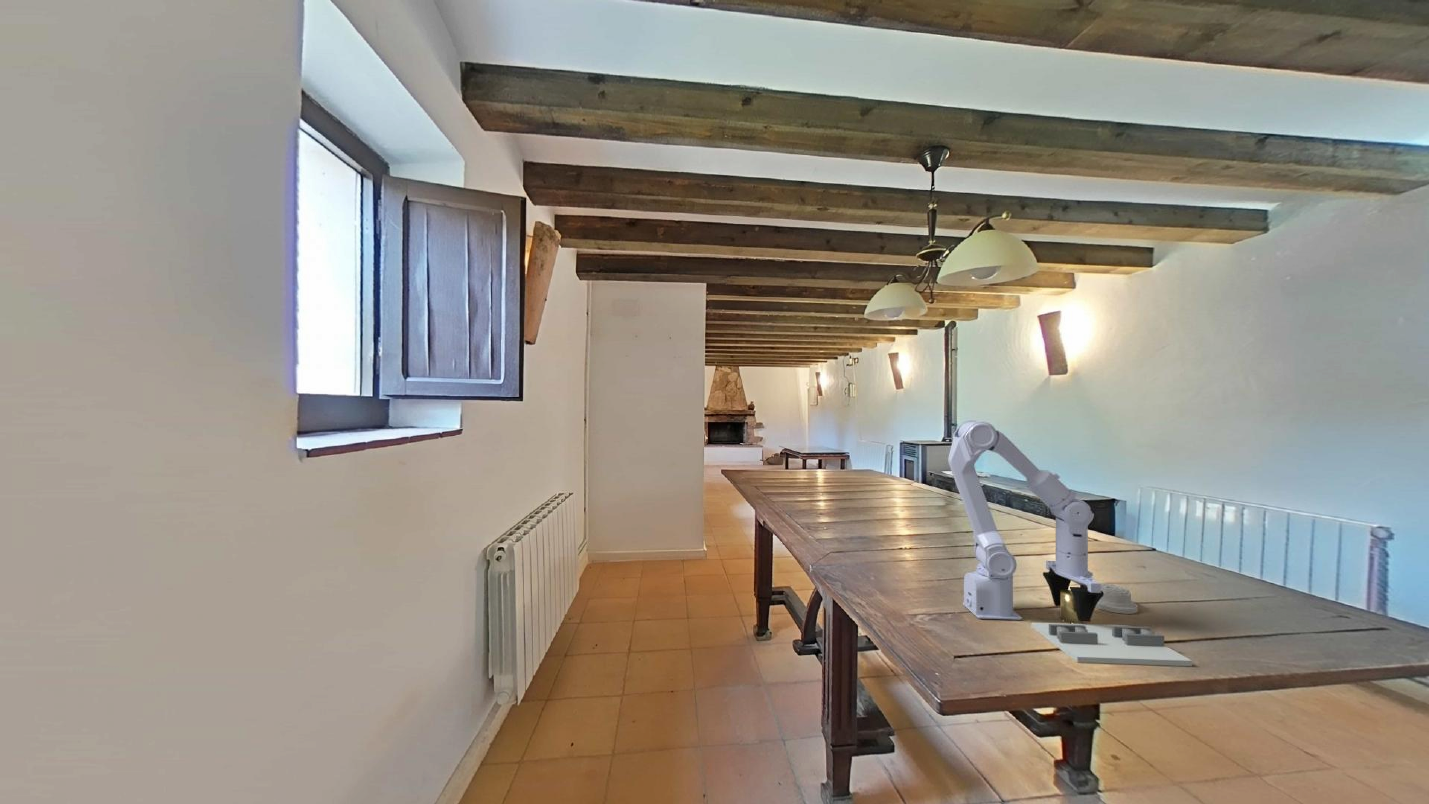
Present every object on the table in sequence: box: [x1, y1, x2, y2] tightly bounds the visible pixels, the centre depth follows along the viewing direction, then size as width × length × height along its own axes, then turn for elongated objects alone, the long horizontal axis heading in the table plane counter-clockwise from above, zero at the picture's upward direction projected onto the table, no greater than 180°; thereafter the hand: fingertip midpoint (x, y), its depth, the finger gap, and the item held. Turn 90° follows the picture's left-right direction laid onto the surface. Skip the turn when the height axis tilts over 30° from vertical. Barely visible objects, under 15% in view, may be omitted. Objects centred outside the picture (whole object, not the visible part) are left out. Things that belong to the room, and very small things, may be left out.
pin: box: [1059, 589, 1084, 624], centre depth 105 cm, size 4×4×6 cm
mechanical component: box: [1095, 582, 1139, 615], centre depth 113 cm, size 10×4×10 cm
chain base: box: [1030, 622, 1193, 667], centre depth 94 cm, size 20×14×3 cm
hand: (1071, 613), depth 105 cm, fingers open, 7 cm apart
